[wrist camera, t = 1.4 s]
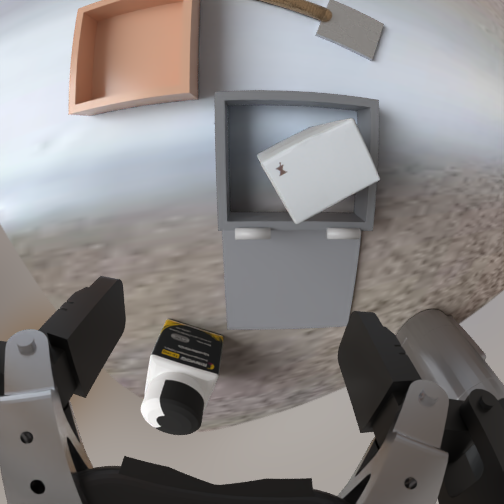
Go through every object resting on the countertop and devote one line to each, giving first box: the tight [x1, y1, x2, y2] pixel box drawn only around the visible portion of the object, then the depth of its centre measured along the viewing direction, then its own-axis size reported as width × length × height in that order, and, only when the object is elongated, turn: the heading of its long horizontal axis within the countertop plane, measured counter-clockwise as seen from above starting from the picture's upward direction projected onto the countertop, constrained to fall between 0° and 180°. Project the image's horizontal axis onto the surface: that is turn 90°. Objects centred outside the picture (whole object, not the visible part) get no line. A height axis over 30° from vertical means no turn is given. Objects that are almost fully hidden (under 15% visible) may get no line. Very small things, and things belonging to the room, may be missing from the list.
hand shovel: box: [259, 0, 384, 61], centre depth 20 cm, size 16×5×2 cm, turn 71°
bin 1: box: [69, 0, 200, 116], centre depth 21 cm, size 12×12×4 cm
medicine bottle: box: [141, 319, 224, 435], centre depth 29 cm, size 7×7×12 cm
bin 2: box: [215, 90, 379, 329], centre depth 27 cm, size 14×24×4 cm, turn 0°
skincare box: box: [257, 118, 380, 224], centre depth 21 cm, size 6×4×12 cm
